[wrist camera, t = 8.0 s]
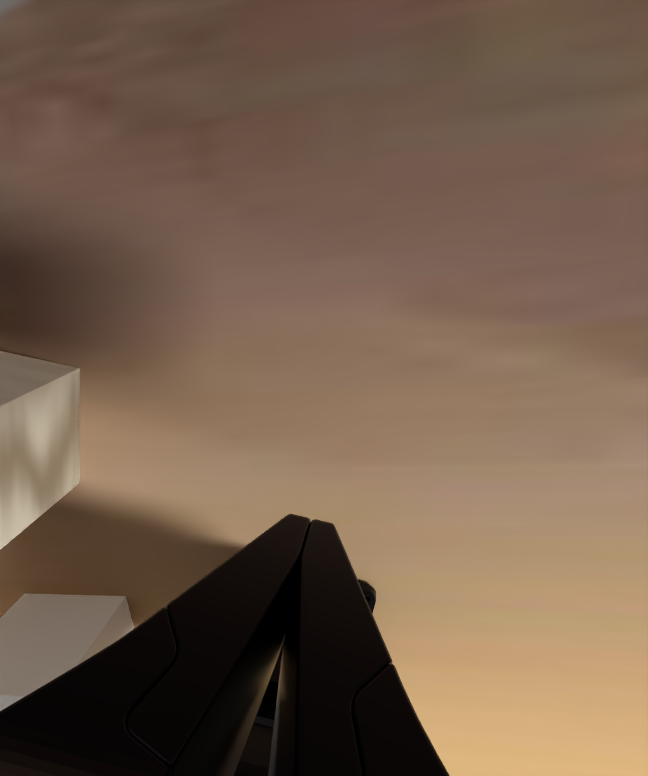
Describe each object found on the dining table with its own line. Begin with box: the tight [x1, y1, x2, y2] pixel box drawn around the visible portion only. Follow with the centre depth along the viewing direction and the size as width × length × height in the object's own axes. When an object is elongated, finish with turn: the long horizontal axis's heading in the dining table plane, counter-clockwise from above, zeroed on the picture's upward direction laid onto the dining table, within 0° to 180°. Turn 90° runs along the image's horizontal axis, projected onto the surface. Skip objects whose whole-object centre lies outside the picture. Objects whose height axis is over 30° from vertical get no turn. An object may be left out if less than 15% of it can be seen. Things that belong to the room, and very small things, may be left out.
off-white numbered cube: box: [0, 593, 134, 711], centre depth 25 cm, size 6×6×6 cm
